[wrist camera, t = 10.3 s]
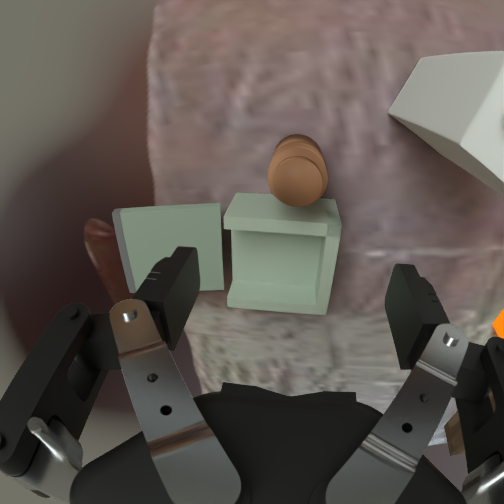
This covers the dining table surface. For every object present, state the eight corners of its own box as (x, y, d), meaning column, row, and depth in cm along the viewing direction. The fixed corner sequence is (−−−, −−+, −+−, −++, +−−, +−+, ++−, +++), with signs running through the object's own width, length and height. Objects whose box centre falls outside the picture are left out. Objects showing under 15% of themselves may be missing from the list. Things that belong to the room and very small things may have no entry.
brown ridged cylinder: (323, 136, 28) (332, 155, 21) (319, 181, 30) (326, 215, 23) (274, 133, 28) (266, 150, 21) (273, 178, 31) (264, 210, 24)
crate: (334, 199, 31) (341, 225, 26) (323, 280, 36) (325, 315, 31) (236, 192, 32) (223, 216, 27) (237, 273, 37) (227, 306, 32)
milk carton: (472, 101, 23) (611, 151, 6) (439, 154, 26) (559, 248, 10) (420, 56, 22) (557, 51, 6) (386, 112, 25) (499, 166, 9)
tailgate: (220, 207, 29) (111, 213, 28) (224, 290, 34) (129, 292, 33) (220, 202, 30) (115, 209, 29) (223, 284, 35) (131, 286, 34)
